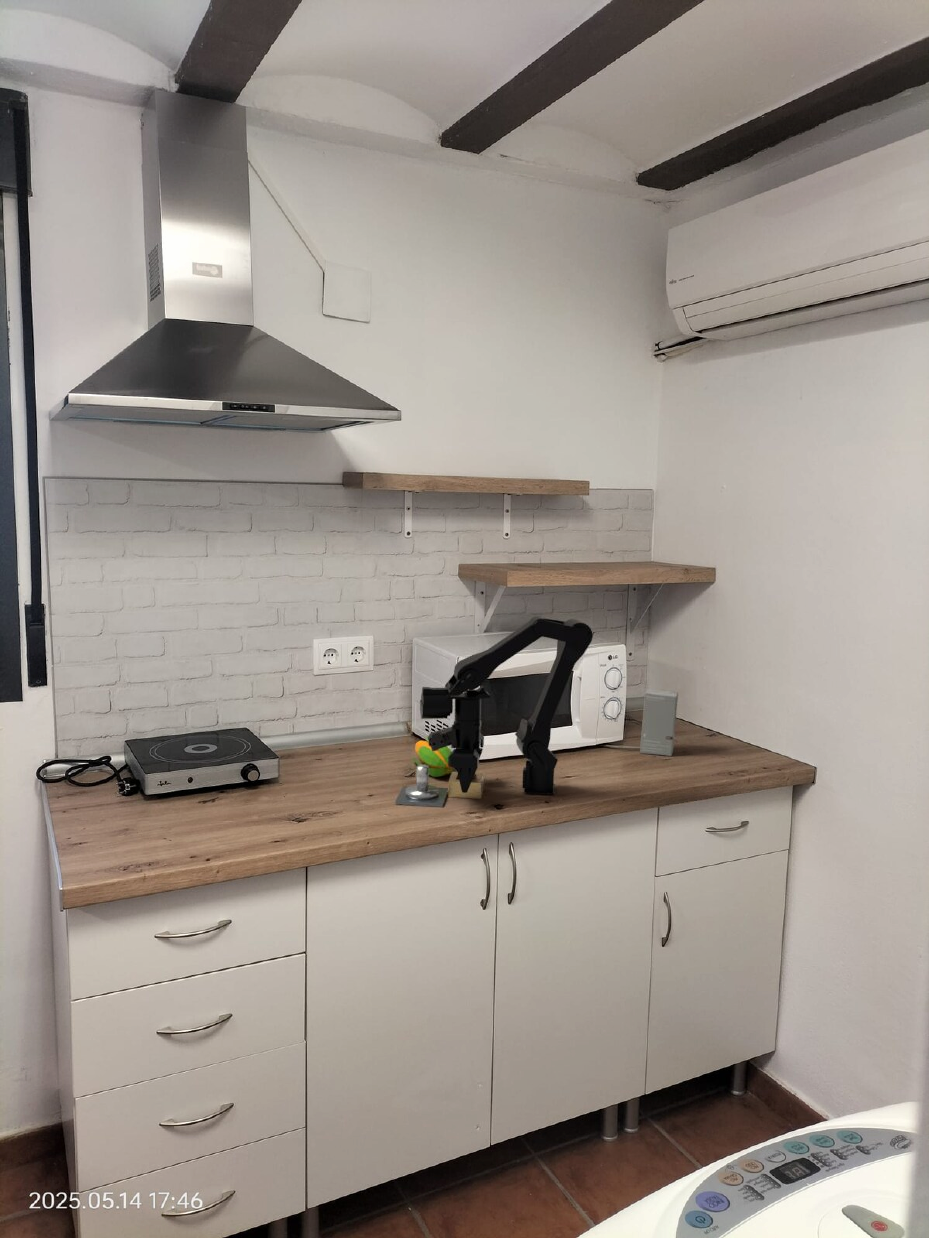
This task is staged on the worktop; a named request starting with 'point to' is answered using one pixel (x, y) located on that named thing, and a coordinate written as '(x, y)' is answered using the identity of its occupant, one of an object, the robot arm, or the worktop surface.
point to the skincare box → (658, 722)
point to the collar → (473, 790)
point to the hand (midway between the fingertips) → (466, 787)
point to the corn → (433, 759)
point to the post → (422, 791)
